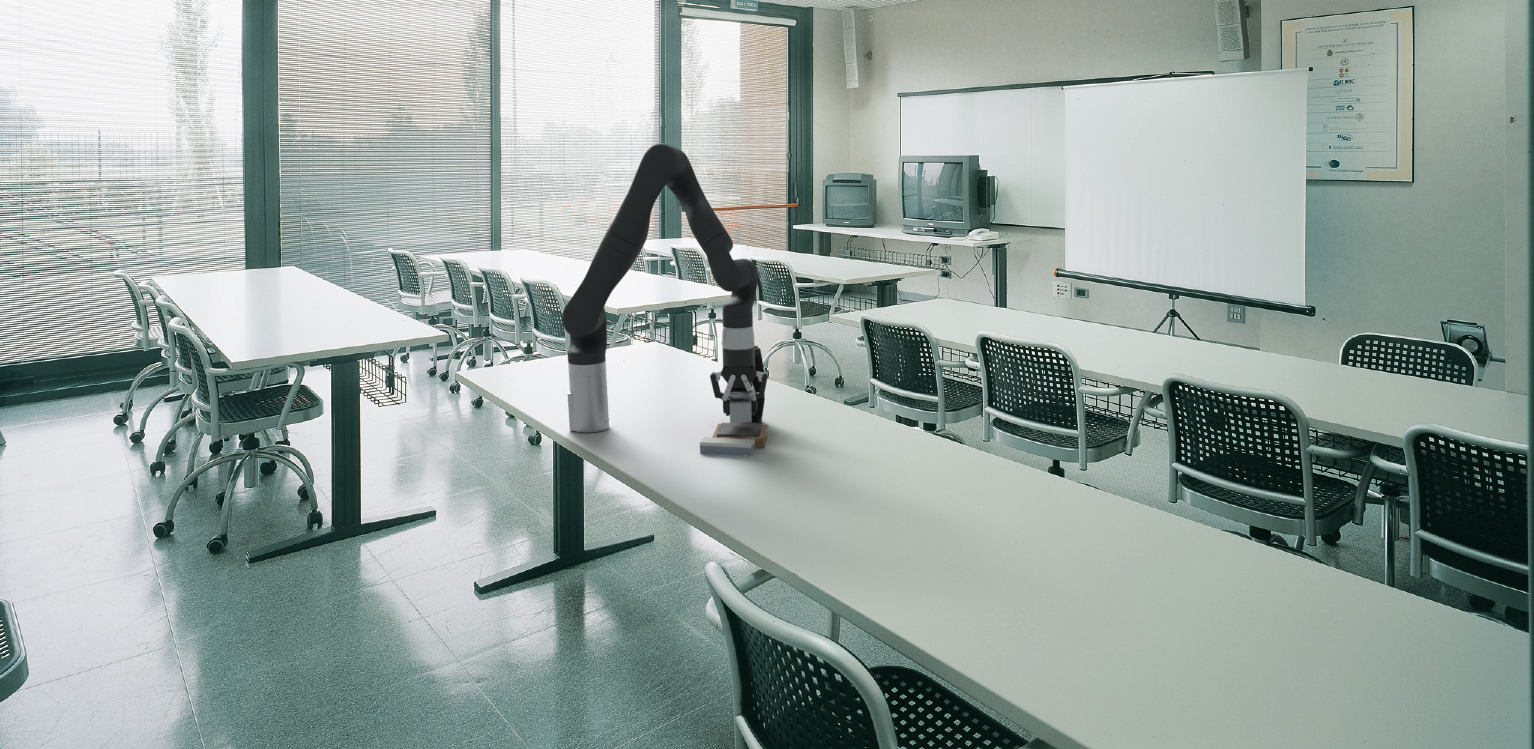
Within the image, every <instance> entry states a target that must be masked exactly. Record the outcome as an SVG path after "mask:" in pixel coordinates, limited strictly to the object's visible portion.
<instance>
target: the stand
mask: <svg viewBox="0 0 1534 749" xmlns="http://www.w3.org/2000/svg"><path fill="white" fill-rule="evenodd" d="M767 436H768V424H765V423H763V422H762V423H756V422H754V423H730V422H721V423H719V424H718V423H717V426H716V428H715V431H714V432H713V435H712V436H711V438H731V439H752V440H755V449H764V447H765V444H766V440H767Z"/></svg>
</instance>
